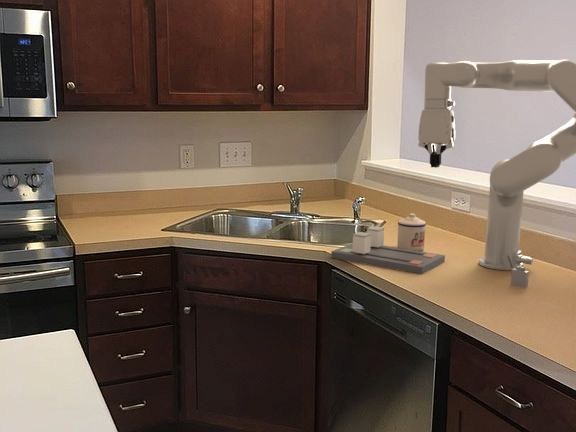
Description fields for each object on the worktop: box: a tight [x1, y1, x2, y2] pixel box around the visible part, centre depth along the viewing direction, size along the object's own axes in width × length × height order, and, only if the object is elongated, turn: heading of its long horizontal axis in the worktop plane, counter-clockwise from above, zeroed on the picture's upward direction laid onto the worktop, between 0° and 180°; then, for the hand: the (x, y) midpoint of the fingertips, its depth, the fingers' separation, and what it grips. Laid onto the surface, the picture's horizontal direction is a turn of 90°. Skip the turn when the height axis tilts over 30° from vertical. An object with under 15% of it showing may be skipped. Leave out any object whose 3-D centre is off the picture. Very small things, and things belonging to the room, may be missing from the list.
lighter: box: [502, 254, 530, 289], centre depth 176 cm, size 7×2×8 cm, turn 49°
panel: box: [330, 242, 446, 275], centre depth 201 cm, size 30×17×2 cm, turn 55°
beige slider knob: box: [352, 231, 371, 254], centre depth 199 cm, size 4×4×6 cm
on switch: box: [366, 226, 385, 247], centre depth 208 cm, size 4×4×6 cm
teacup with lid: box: [396, 213, 427, 252], centre depth 215 cm, size 12×9×12 cm
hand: (435, 166), depth 197 cm, fingers closed
